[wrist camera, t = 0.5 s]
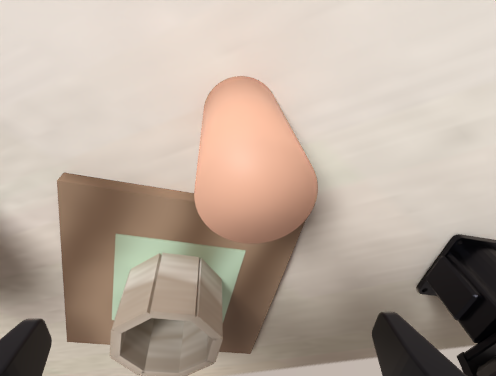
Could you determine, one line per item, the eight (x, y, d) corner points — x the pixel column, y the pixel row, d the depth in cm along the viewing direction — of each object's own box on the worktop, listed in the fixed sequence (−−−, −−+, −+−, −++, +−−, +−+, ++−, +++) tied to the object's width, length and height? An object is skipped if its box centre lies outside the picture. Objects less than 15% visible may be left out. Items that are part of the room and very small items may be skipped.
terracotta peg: (286, 85, 18) (336, 152, 11) (266, 154, 21) (295, 250, 13) (210, 67, 18) (206, 126, 10) (197, 141, 20) (185, 235, 12)
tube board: (302, 210, 23) (327, 272, 18) (249, 343, 31) (255, 413, 26) (63, 172, 20) (11, 234, 15) (71, 331, 28) (39, 406, 23)
